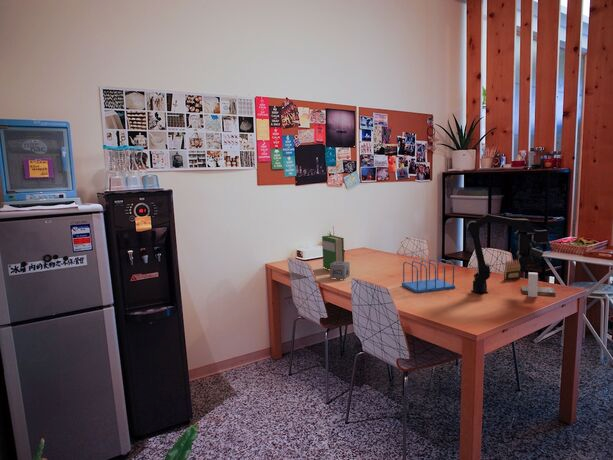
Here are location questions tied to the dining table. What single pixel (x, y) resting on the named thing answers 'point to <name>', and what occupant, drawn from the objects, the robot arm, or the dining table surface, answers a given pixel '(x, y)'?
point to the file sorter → (428, 284)
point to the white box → (532, 284)
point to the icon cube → (339, 270)
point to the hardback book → (332, 250)
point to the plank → (540, 291)
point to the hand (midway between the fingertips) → (524, 272)
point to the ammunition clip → (512, 270)
